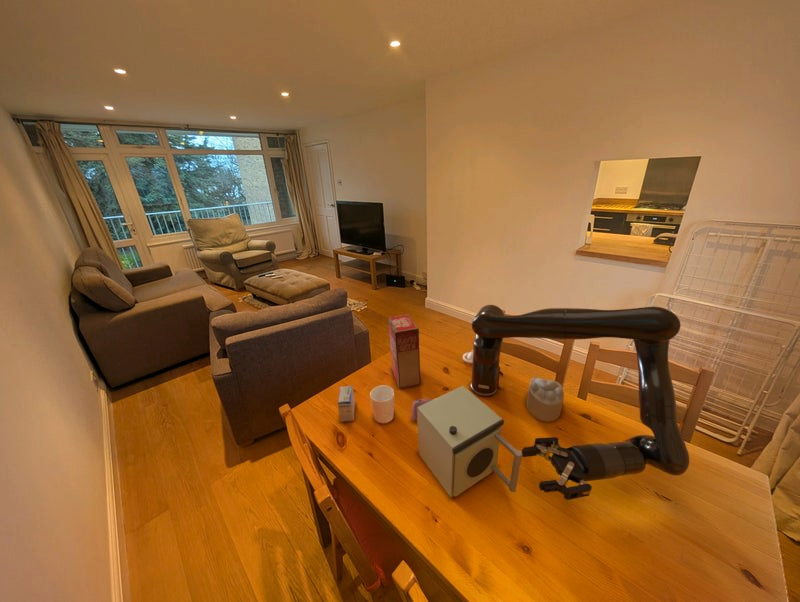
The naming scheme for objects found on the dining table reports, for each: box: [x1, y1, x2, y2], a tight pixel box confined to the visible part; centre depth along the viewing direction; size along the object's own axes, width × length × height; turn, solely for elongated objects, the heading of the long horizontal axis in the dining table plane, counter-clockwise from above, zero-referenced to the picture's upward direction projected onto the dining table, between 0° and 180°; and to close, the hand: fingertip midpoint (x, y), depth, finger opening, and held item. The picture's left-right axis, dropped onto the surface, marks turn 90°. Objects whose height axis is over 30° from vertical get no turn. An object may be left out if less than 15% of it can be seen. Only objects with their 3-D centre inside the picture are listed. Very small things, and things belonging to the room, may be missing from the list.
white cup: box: [369, 384, 395, 424], centre depth 98 cm, size 8×8×10 cm
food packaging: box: [387, 313, 422, 390], centre depth 114 cm, size 13×9×25 cm
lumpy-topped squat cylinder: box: [526, 377, 565, 423], centre depth 98 cm, size 10×13×9 cm
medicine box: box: [337, 385, 356, 423], centre depth 100 cm, size 8×4×9 cm, turn 5°
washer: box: [416, 385, 505, 499], centre depth 80 cm, size 16×16×19 cm
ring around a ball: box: [462, 349, 473, 365], centre depth 125 cm, size 8×6×8 cm
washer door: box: [453, 428, 523, 497], centre depth 70 cm, size 14×8×14 cm, turn 120°
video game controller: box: [411, 398, 433, 423], centre depth 98 cm, size 10×5×7 cm, turn 84°
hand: (530, 468), depth 70 cm, fingers open, 8 cm apart
